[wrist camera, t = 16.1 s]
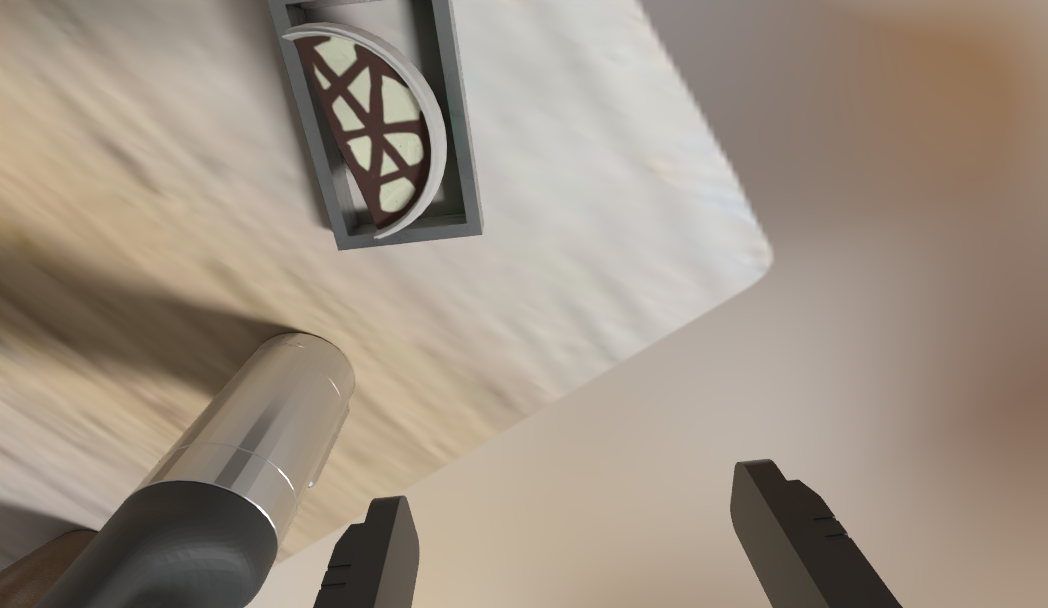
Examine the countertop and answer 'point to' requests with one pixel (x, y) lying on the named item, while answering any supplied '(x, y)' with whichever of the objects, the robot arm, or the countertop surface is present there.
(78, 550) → the plant pot
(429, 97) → the food container
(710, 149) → the countertop surface
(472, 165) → the collar
